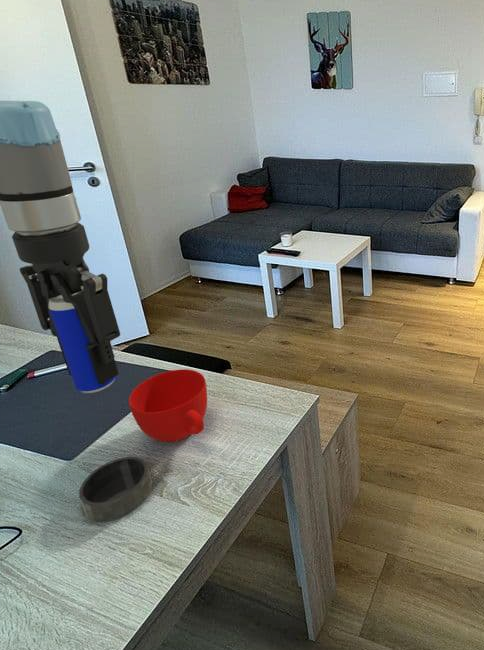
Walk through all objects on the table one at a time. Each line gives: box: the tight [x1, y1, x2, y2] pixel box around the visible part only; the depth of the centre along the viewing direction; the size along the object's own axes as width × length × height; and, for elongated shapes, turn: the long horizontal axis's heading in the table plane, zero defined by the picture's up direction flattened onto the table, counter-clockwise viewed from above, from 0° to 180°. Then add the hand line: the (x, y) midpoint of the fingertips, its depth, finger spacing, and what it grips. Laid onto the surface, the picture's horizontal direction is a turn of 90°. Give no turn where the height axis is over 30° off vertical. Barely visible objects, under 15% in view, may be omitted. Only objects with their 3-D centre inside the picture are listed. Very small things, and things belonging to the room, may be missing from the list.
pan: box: [78, 456, 153, 523], centre depth 71 cm, size 9×9×4 cm
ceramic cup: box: [128, 368, 208, 443], centre depth 82 cm, size 13×17×10 cm
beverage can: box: [48, 290, 117, 394], centre depth 63 cm, size 5×5×15 cm
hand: (94, 374), depth 65 cm, fingers closed on beverage can, 5 cm apart
